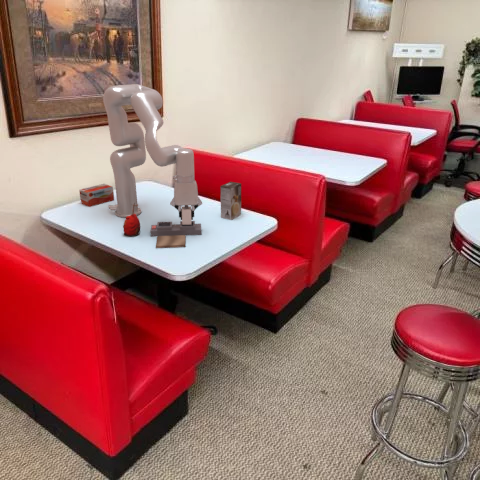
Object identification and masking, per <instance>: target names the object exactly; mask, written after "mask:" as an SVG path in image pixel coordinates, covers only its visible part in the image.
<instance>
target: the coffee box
mask: <svg viewBox="0 0 480 480" xmlns="http://www.w3.org/2000/svg"><path fill="white" fill-rule="evenodd" d="M219 189H220V218H221V219H225V220H229V221H232V220H234V219H236V218H238V217H239V216H241V215H242V183H241V182H234V181H229V182H227V183H225V184H221V185H220V187H219Z"/></svg>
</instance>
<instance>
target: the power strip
mask: <svg viewBox="0 0 480 480" xmlns="http://www.w3.org/2000/svg"><path fill="white" fill-rule="evenodd" d="M195 222H196V221H195V220H191V225H182V220H180V222H179V223H177V224H175V223H174V224H173V221H157V224H151V226H150V233H149V234H150V238H151V237H157V236H174V235H185V236H202V224H201V223H195Z"/></svg>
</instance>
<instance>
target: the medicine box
mask: <svg viewBox="0 0 480 480" xmlns="http://www.w3.org/2000/svg"><path fill="white" fill-rule="evenodd" d="M79 197H80V198H79V199H80V203H81V205H84V206H87V207H89V208H91V207H94V206H98V205H103V204H106V203H108V202H109V203H110V202H114V201H115V195H114V188H113V186H112V185H109V184H106V183H101V184H98V185H93V186H88V187H85V188H81V189H79Z"/></svg>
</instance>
